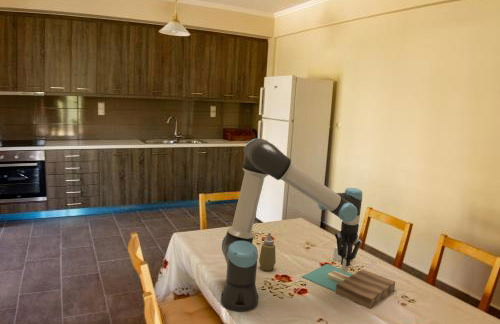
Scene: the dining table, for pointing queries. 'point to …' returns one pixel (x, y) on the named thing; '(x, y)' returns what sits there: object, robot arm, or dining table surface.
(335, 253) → the medicine bottle
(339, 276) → the tile
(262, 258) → the squeeze bottle
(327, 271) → the mat
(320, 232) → the dining table surface
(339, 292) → the block
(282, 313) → the dining table surface
